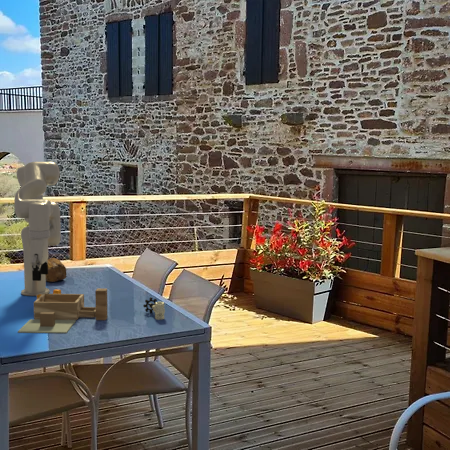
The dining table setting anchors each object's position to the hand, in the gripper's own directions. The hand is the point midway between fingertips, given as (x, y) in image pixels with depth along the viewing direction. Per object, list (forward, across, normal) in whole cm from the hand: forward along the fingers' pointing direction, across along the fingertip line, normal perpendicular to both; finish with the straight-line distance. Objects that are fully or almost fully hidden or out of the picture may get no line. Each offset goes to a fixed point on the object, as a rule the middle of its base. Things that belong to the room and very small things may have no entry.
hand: (40, 277), depth 237 cm
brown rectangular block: (+18, -4, +23) cm, 29 cm away
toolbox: (+18, -9, +8) cm, 22 cm away
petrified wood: (+21, -73, -15) cm, 78 cm away
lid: (+18, +7, +4) cm, 20 cm away
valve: (+18, -9, +44) cm, 49 cm away
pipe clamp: (+19, -21, -3) cm, 29 cm away
